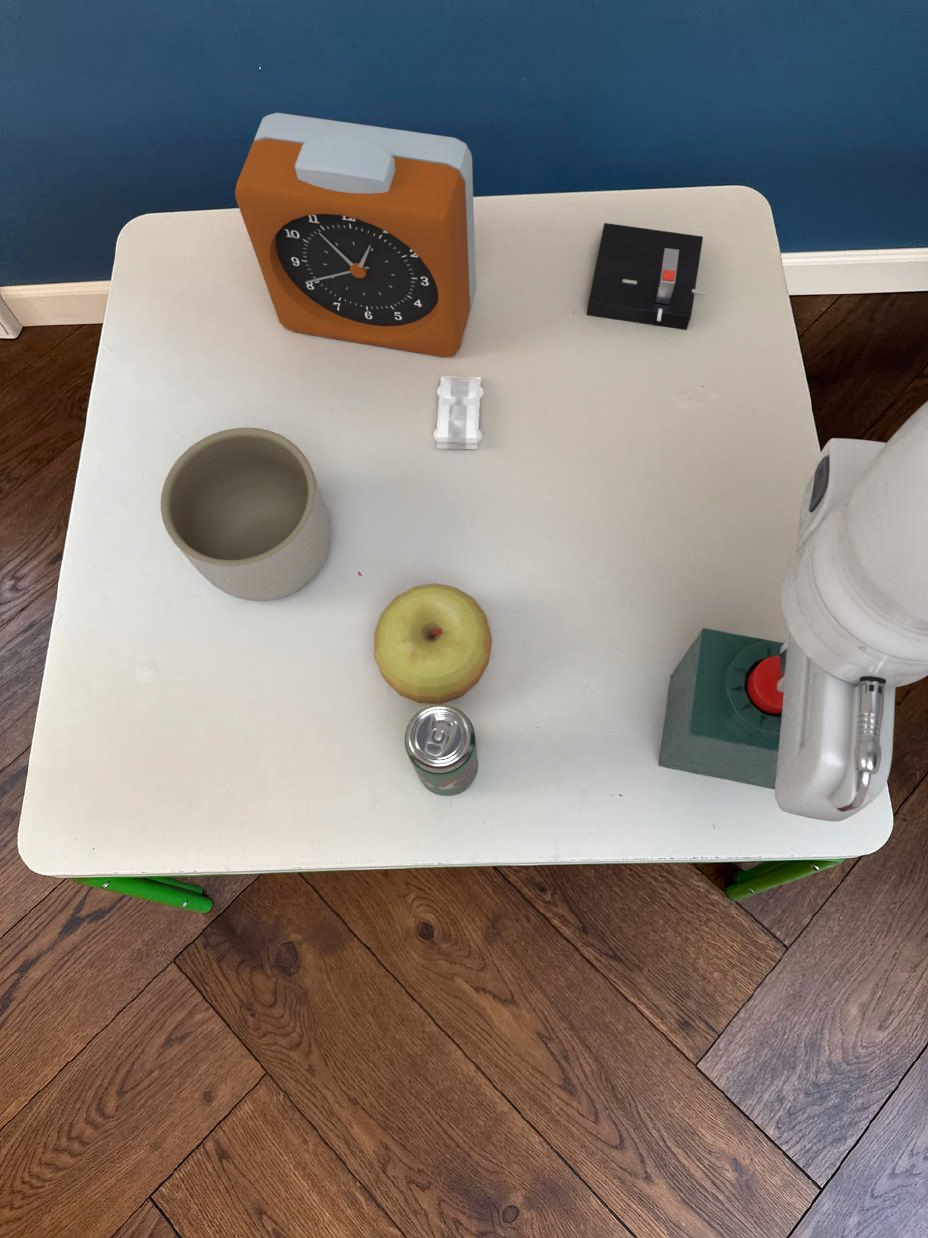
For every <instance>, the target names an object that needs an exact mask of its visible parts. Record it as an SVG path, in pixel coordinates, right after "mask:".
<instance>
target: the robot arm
mask: <svg viewBox="0 0 928 1238" xmlns="http://www.w3.org/2000/svg"><path fill="white" fill-rule="evenodd" d="M782 579H783V580H782V585H781V606H782V612H783V616H784V620H785V623H786V625H787V628H788V630H789V631H788V636H787V640H786V641H785V642H783V643H784V644H783V645H782V646H781V650H780V661H779V673H778V683H777V690H778V691H780V692H784V696H783V707H782V717H781V728H780V739H779V750H778V761H777V772H776V782H775V789H774V798H775V800H776V803H777V805H778V808H779V809H780V810H781V811H783V812H785V813H787V814H791V815H794V816H799V817H804V818H808V819H813V820H814V819H815V820H819V821H826V822H833V823H835V822H841V821H844V820H846V819H848V818H850V817H852V816H854V815H856V814H857V813H859V812H860V811H862V810H863V809H865V808H866V807H867V806H868V805H870V804H871V803H872V802H873V801H874V800H876V799H877V797H878V796H880V794H881V793H882V792H883V790H884V788H885V786H886V785H887V783H888V779H889V776H890V772H891V767H892V761H893V760H892V759H893V749H894V748H893V747H894V729H895V707H896V706H895V705H896V688H898V687H903V686H906V685H910V684H913V683H915V682H918V681H920V680H922V679H924V678H926V677H927V676H928V400H926V402H924V403H923V404H922V405H921V406H920V407H918V409H917V410H916V411H915V412H914V413H913V414H911V415H910V417H909V418H908V419H907V420H906V421H905V422H904V423H903V424H902V425H901V426H900V427H899V428H898V429H897V430H896V431H895V432H894V434H893V435H892V436H891V437H890V438H889V440H888V441H887V442H883V441H876V440H875V441H874V440H868V439H867V440H866V439H856V438H842V437H841V438H838V437H833V438H830V439H828V441H827V443H825V445H824V447H823V448H822V450H821V451H820V453H819V456H818V458H817V463H816V469H815V470H814V472H813V473H812V475H811V477H810V479H809V481H808V483H807V484H806V487H805V489H804V492H803V496H802V499H801V504H800V510H799V522H798V532H797V543H796V552H795V554H794V556H793V557H792V558H791V560H790V562H789V564H788V565H787V568H786V570H785V573H784V576H783V578H782Z"/></svg>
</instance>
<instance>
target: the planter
mask: <svg viewBox="0 0 928 1238" xmlns="http://www.w3.org/2000/svg"><path fill="white" fill-rule="evenodd" d="M309 461H310V460H309V459H308V458H307V457H306V455H305V454H304V452H303V451H302V450H301V449H300V448H299V446H297V445H296V444H295V443H294V442H293V441H291V440H290V439H288V438H286V437H284V436H283V435H281V434H279V433H276V432H274V431H271V430H267V429H263V428H257V427H234V428H229V429H224V430H221V431H218V432H215V433H212V434H210V435H207V436H205V437H204V438H201V439H199V441H197V442H195V443H194V444H192V445H191V446H190V447H188V448H187V449H186V451H184V452H183V453H182V454H181V455H180V456H179V457H178V458H177V460H176V461H175V462H174V463H173V465H172V466H171V468H170V470H169V471H168V472H167V473H168V474H167V475H166V477H165V480H164V483H163V486H162V490H161V495H160V514H161V519H162V523H163V526H164V528H165V530H166V532H167V534H168V536H169V538H170V539H171V541H172V542H173V543H174V544H175V546H176V547H177V548H178V549H179V550H180V551H181V553H182V554H183V555H184V556H185V557H186V558H187V559H188V561H189V562H190V563H191V564H192V566H193V567H194V568H195V569H196V570H197V571H198V572H199V574H201V575H202V576H203V577H204V578H205V580H207V581H208V582H209V583H210V584H212V586H215V588H217V589H219V591H222V592H223V593H225V594H227V595H229V596H232V597H234V598H237V599H242V600H244V601H245V600H246V601H252V602H253V601H254V602H269V601H273V600H279V599H282V598H285V597H287V596H290V595H292V594H294V593H296V592H297V591H299V590H300V589H302V588H303V587H304V586H306V585H307V584H308V583H309V582H310V581H311V580H312V579H314V577H315V576H316V574H317V573H318V572H319V571H320V569H321V567H322V565H323V563H324V561H325V559H326V557H327V553H328V550H329V545H330V539H331V525H330V518H329V513H328V509H327V507H326V502H325V500H324V496H323V493H322V491H321V489H320V486H319V483H318V481H317V477H316V475H315V473H314V470H313V467H312V466H311V463H310V462H309Z"/></svg>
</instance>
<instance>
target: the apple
mask: <svg viewBox="0 0 928 1238" xmlns="http://www.w3.org/2000/svg"><path fill="white" fill-rule="evenodd" d="M373 633H374V635H373V636H374V637H373V638H374V639H373V640H374V641H373V643H374V648H373V649H374V651H373V653H374V659H375V661H376V664H377V666H378V668H379V672H380V673H381V675H382V678H383V680H384V681H385V682H386V683H387V684H388V685H389V686H390V687H391V688H392V689H393V690H394V691H395V692H396V693H397V694H398V695H399V696H401V697H404V698H406V699H408V700H411V701H413V702H416V703H418V704H429V705H431V704H432V705H440V704H442V705H443V704H444V703H448V702H450V701H453V700H456V699H459V698H462V697H463V696H464V695H465V694H466V693H467V692H469V691H470V690H471V689H472V688H474V687H475V686H476V685H477V684H478V683H479V681H480V680H481V678H482V675H483V674H484V672H485V670H486V668H487V667H488V665H489V662H490V657H491V650H492V649H491V648H492V642H493V637H492V633H491V630H490V625H489V621H488V617H487V615H486V613H485V612H484V610H483V609H482V607H481V606H480V605H479V603H478V602H477V601H476V599H475V598H473V597H472V596H470V595H469V594H468V593H465V592H464V591H463V590H461V589H459V588H458V587H454V586H450V585H445V584H440V583H430V584H425V585H418V586H414V587H412V588H410V589H408V590H406V591H404V592H402V593H401V594H399V595H397V596H396V597H394V599H392V601H391V602H390V603H389V604H388V605H387V607H385V609H384V610H383V611H382V612H381V614H380V616H379V619H378V621H377V624H376V627H375V629H374V632H373Z"/></svg>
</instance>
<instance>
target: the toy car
mask: <svg viewBox="0 0 928 1238" xmlns="http://www.w3.org/2000/svg"><path fill="white" fill-rule="evenodd" d="M481 385H482V377H481V376H453V375H452V376H451V375H450V376H449V375H447V376H445V375H444V376H443V375H441V376H440V384H439V386H438V387H437V388H436V395H437V397H438V408H437V419H436V428H435V429H434V431H433V433H432V438H433V439H434V442H435V446H436V447H435V448H436V449H450V450H452V449H453V450H478V449H479V443H480V442H481V441H482V439H483V432H482V430H481V429H480V413H481V412H480V411H481V399H482V398H483V397H484V395H485V391H484V388H483V387H482V386H481Z"/></svg>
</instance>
